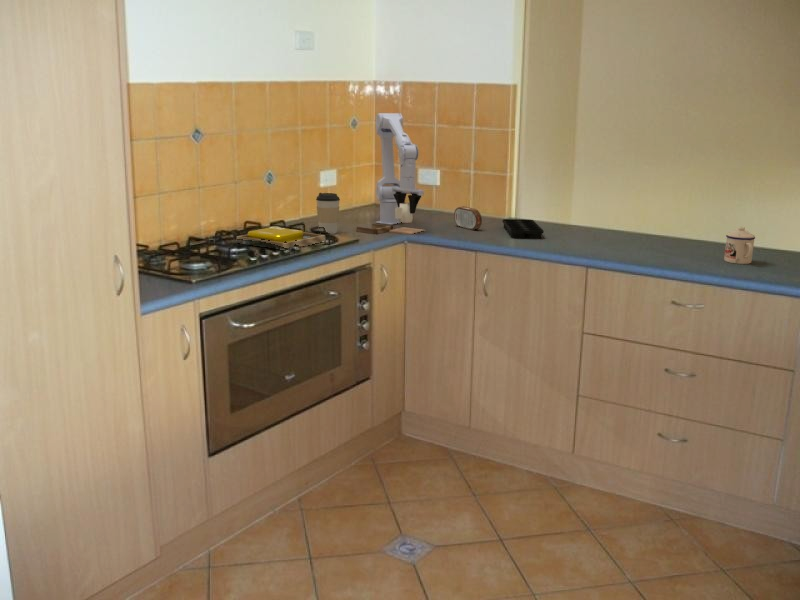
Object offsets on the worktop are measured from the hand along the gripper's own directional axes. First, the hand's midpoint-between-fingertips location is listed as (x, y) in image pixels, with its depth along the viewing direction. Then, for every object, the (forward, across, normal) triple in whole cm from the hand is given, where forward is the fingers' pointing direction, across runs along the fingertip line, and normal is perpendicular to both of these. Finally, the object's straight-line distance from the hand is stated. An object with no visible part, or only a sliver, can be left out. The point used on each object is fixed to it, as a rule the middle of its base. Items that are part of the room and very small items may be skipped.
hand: (406, 212), depth 332 cm
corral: (+8, +14, +51) cm, 54 cm away
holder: (+8, +10, +8) cm, 15 cm away
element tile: (+8, +17, +52) cm, 55 cm away
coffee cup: (+8, +19, +24) cm, 31 cm away
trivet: (+8, 0, 0) cm, 8 cm away
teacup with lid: (+8, -115, -36) cm, 121 cm away
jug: (+4, 0, +2) cm, 4 cm away
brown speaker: (+8, -11, -25) cm, 28 cm away
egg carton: (+8, -32, -32) cm, 46 cm away
